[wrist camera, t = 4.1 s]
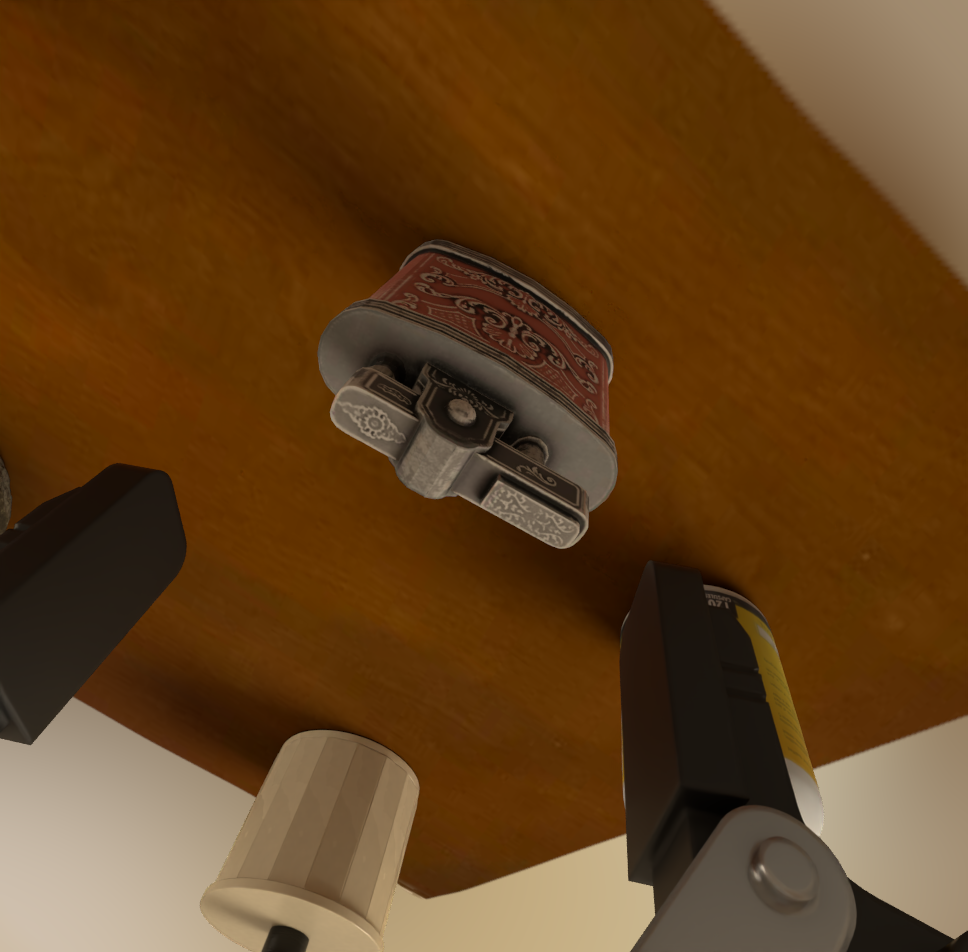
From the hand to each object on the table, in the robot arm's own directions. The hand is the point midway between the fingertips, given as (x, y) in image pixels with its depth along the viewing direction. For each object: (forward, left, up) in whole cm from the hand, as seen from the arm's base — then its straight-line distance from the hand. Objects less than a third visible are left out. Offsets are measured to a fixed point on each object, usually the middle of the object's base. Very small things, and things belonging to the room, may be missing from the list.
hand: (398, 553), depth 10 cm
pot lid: (+7, +32, -4) cm, 33 cm away
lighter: (0, 0, -13) cm, 13 cm away
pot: (+7, +32, -13) cm, 35 cm away
